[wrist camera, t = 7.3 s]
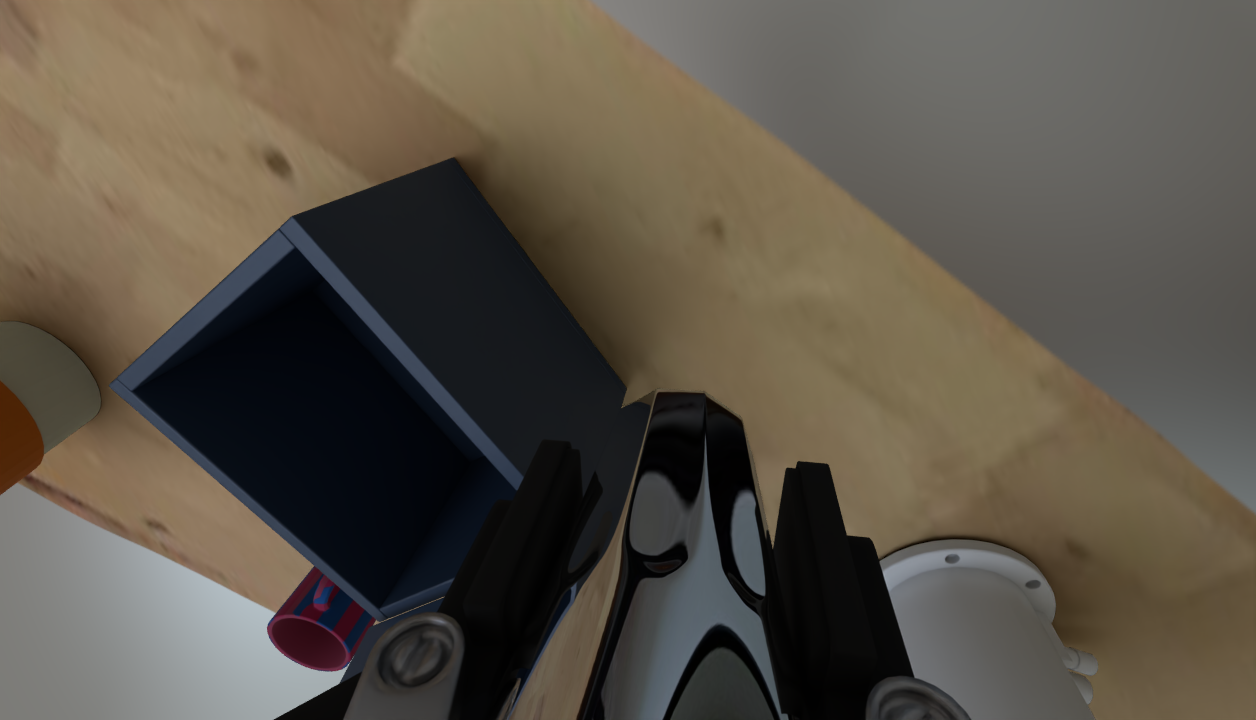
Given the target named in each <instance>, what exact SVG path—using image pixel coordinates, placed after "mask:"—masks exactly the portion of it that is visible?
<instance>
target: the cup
mask: <svg viewBox="0 0 1256 720" xmlns="http://www.w3.org/2000/svg"><path fill="white" fill-rule="evenodd" d="M375 621H376V619H375V618H374V617H373V616H372V615H370V614H369V613H368V612H367V611H366V610H365V609H364V608H362V607H361V606H360V605H359V604H358V603H357V602H356V601H354V600H353V599H352V598H351V597H350V596H349V595H347V594H346V593H345V592H344V591H343V590H342V589H341V588H339V587H338V586H337V585H336V584H335V583H334V582H333V581H331V580H330V579H329V578H328V577H327V576H326V575H325V574H323V573H322V572H321V571H320V570H319V569H318V568H317V567H315V566H314V567H313V568H312V570H311V571H310V572H309V573H308V575H307V576H306V577H305V578H304V580H303V581H302V582H301V583H300V584H299V586H298V587H297V588H296V589H295V591H294V592H293V593H292V594H291V596H290V597H289V598H288V599H287V601H286V602H285V603H284V604H283V605H282V607H281V608H280V609H279V610H278V612H277V613H276V614H275V615H274V617H273V618H272V619H271V620H270V622H269V623H268V627H267V632H268V635H269V638H270V640H271V642H272V643H273V644H274V646H275V647H276V648H277V649H278V650H279V651H280V652H281V653H282V654H284V655H285V656H286V657H288V658H289V659H291V660H292V661H294V662H296V663H298V664H300V665H303V666H305V667H308V668H311V669H315V670H319V671H338V670H341V669H343V668H345V667H346V666H347V665H348V664H349V663H350V661H351V660H352V658H353V656H354V655H355V653H356V651H357V649H358V647H359V645H360V643H361V642H362V640H363V638H364V636H365V634H366V632H367V630H368V628H369V627H371V626H373V624H374V622H375Z"/></svg>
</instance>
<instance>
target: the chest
mask: <svg viewBox="0 0 1256 720" xmlns="http://www.w3.org/2000/svg"><path fill="white" fill-rule="evenodd" d="M109 387H110V388H111V389H112V390H113V391H115V392H116V393H117V394H118V395H119V396H120V397H122V398H123V399H124V400H125V401H126V402H127V403H128V404H130V405H131V406H132V407H133V408H134V409H135V410H136V411H138V412H139V413H140V414H141V415H142V416H143V417H144V418H146V419H147V420H148V421H149V422H150V423H151V424H152V425H154V426H155V427H156V428H157V429H158V430H159V431H161V432H162V433H163V434H164V435H165V436H166V437H167V438H169V439H170V440H171V441H172V442H173V443H174V444H175V445H177V446H178V447H179V448H180V449H181V450H182V451H183V452H185V453H186V454H187V455H188V456H189V457H190V458H191V459H193V460H194V461H195V462H196V463H197V464H198V465H200V466H201V467H202V468H203V469H204V470H205V471H206V472H208V473H209V474H210V475H211V476H212V477H213V478H214V479H216V480H217V481H218V482H219V483H220V484H221V485H222V486H224V487H225V488H226V489H227V490H228V491H229V492H230V493H232V494H233V495H234V496H235V497H236V498H237V499H239V500H240V501H241V502H242V503H243V504H244V505H245V506H247V507H248V508H249V509H250V510H251V511H252V512H253V513H255V514H256V515H257V516H258V517H259V518H260V519H261V520H263V521H264V522H265V523H266V524H267V525H268V526H269V527H271V528H272V529H273V530H274V531H275V532H276V533H278V534H279V535H280V536H281V537H282V538H283V539H284V540H286V541H287V542H288V543H289V544H290V545H291V546H292V547H294V548H295V549H296V550H297V551H298V552H299V553H300V554H302V555H303V556H304V557H305V558H306V559H307V560H308V561H310V562H311V563H312V564H313V565H314V566H315V567H317V568H318V569H319V570H320V571H321V572H322V573H323V574H325V575H326V576H327V577H328V578H329V579H330V580H331V581H333V582H334V583H335V584H336V585H337V586H338V587H339V588H341V589H342V590H343V591H344V592H345V593H346V594H347V595H349V596H350V597H351V598H352V599H353V600H354V601H356V602H357V603H358V604H359V605H360V606H361V607H362V608H364V609H365V610H366V611H367V612H368V613H369V614H370V615H372V616H373V617H374V618H375V619H376V620H377V621H379V622H381V621H384V620H386V619H388V618H391V617H394V616H396V615H399V614H401V613H404V612H406V611H409V610H411V609H414V608H416V607H419V606H421V605H424V604H426V603H429V602H431V601H434V600H436V599H439V598H441V597H444V596H445V595H446V593H447V591H448V590H449V588H450V586H451V584H452V582H453V580H454V578H455V576H456V574H457V572H458V571H459V569H460V567H461V565H462V563H463V561H464V559H465V557H466V555H467V553H468V552H469V550H470V548H471V546H472V544H473V542H474V540H475V538H476V536H477V534H478V533H479V531H480V529H481V527H482V525H483V523H484V521H485V519H486V517H487V515H488V514H489V512H490V510H491V508H492V506H493V505H494V503H495V502H496V501H497V500H499V499H501V500H511V501H512V500H513V498H514V496H515V494H516V492H517V490H518V488H519V486H520V484H521V482H522V480H523V478H524V476H525V474H526V472H527V470H528V468H529V465H530V463H531V461H532V459H533V457H534V455H535V453H536V451H537V449H538V447H539V445H540V443H541V441H542V440H544V439H547V440H559V441H569V442H570V443H571V446H572V449H579V451H580V457H581V472H582V487H583V497H584V495H585V492H586V490H587V487H588V485H589V483H590V480H591V478H592V475H593V473H594V471H595V468H596V466H597V463H598V461H599V459H600V456H601V454H602V451H603V449H604V446H605V444H606V442H607V439H608V437H609V434H610V432H611V430H612V427H613V425H614V422H615V420H616V418H617V415H618V413H619V411H620V409H621V407H622V403H623V400H624V397H625V393H626V390H627V388H626V387H625V385H624V384H623V383H622V381H621V380H620V379H619V377H618V376H617V375H616V373H615V372H614V371H613V369H612V368H611V367H610V365H609V364H608V363H607V361H606V360H605V359H604V357H603V356H602V355H601V353H600V352H599V351H598V349H597V348H596V347H595V345H594V344H593V343H592V341H591V340H590V339H589V337H588V336H587V335H586V333H585V332H584V331H583V329H582V328H581V327H580V325H579V324H578V323H577V321H576V320H575V319H574V317H573V316H572V315H571V313H570V312H569V311H568V309H567V308H566V307H565V305H564V304H563V303H562V301H561V300H560V299H559V297H558V296H557V295H556V293H555V292H554V291H553V289H552V288H551V287H550V285H549V284H548V283H547V281H546V280H545V279H544V277H543V276H542V275H541V273H540V272H539V271H538V269H537V268H536V267H535V265H534V264H533V263H532V261H531V260H530V259H529V257H528V256H527V255H526V253H525V252H524V251H523V249H522V248H521V247H520V245H519V244H518V243H517V241H516V240H515V239H514V237H513V236H512V235H511V233H510V232H509V231H508V229H507V228H506V227H505V225H504V224H503V223H502V221H501V220H500V219H499V217H498V216H497V215H496V213H495V212H494V211H493V209H492V208H491V207H490V205H489V204H488V203H487V201H486V200H485V199H484V197H483V196H482V195H481V193H480V192H479V191H478V189H477V188H476V187H475V185H474V184H473V183H472V181H471V180H470V179H469V177H468V176H467V175H466V173H465V172H464V171H463V169H462V168H461V167H460V165H459V164H458V163H457V161H456V160H455V159H454V158H451V159H448V160H445V161H442V162H439V163H437V164H434V165H431V166H428V167H426V168H423V169H420V170H417V171H415V172H412V173H409V174H406V175H404V176H401V177H398V178H395V179H393V180H390V181H387V182H384V183H382V184H379V185H376V186H374V187H371V188H368V189H365V190H363V191H360V192H357V193H354V194H352V195H349V196H346V197H343V198H341V199H338V200H335V201H332V202H330V203H327V204H324V205H321V206H319V207H316V208H313V209H310V210H308V211H305V212H302V213H299V214H297V215H294V216H292V217H290V218H289V219H288V220H287V221H286V222H285V223H284V224H283V225H282V226H281V227H280V228H279V229H278V230H277V231H275V232H274V233H273V234H272V235H271V236H270V237H269V238H268V239H267V240H266V241H265V242H264V243H262V244H261V245H260V246H259V247H258V248H257V249H256V250H255V251H254V252H253V253H252V254H250V255H249V256H248V257H247V258H246V259H245V260H244V261H243V262H242V263H241V264H240V265H238V266H237V267H236V268H235V269H234V270H233V271H232V272H231V273H230V274H229V275H228V276H227V277H225V278H224V279H223V280H222V281H221V282H220V283H219V284H218V285H217V286H216V287H215V288H213V289H212V290H211V291H210V292H209V293H208V294H207V295H206V296H205V297H204V298H203V299H202V300H200V301H199V302H198V303H197V304H196V305H195V306H194V307H193V308H192V309H191V310H190V311H188V312H187V313H186V314H185V315H184V316H183V317H182V318H181V319H180V320H179V321H178V322H176V323H175V324H174V325H173V326H172V327H171V328H170V329H169V330H168V331H167V332H166V333H165V334H163V335H162V336H161V337H160V338H159V339H158V340H157V341H156V342H155V343H154V344H153V345H151V346H150V347H149V348H148V349H147V350H146V351H145V352H144V353H143V354H142V355H141V356H140V357H138V358H137V359H136V360H135V361H134V362H133V363H132V364H131V365H130V366H129V367H128V368H126V369H125V370H124V371H123V372H122V373H121V374H120V375H119V376H118V377H117V378H116V379H115V380H114V381H112V382H111V383H110V384H109Z"/></svg>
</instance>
